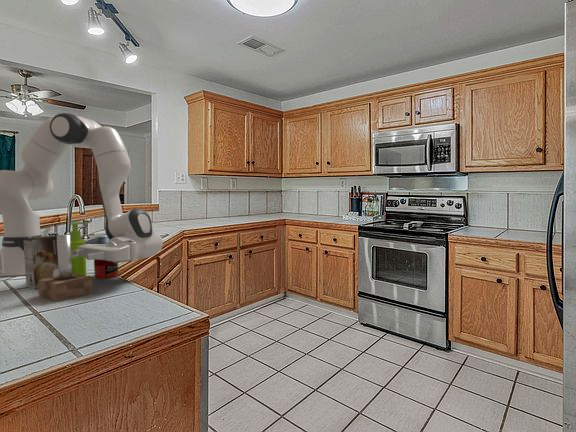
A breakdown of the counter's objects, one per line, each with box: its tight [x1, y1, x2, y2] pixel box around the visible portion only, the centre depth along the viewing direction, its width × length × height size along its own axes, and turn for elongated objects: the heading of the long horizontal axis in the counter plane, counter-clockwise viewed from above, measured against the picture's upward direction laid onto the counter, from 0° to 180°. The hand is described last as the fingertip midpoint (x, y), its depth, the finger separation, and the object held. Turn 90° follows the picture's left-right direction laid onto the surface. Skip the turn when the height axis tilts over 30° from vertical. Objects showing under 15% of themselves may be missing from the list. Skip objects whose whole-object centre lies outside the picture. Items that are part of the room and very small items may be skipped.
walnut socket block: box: [38, 273, 93, 302], centre depth 103 cm, size 10×10×5 cm
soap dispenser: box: [69, 221, 88, 276], centre depth 126 cm, size 6×7×20 cm
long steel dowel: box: [56, 234, 72, 281], centre depth 103 cm, size 3×3×18 cm
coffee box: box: [23, 235, 58, 290], centre depth 114 cm, size 9×6×16 cm
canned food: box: [93, 259, 119, 280], centre depth 126 cm, size 8×8×11 cm
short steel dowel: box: [52, 268, 59, 277], centre depth 113 cm, size 3×3×6 cm
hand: (78, 255), depth 106 cm, fingers open, 8 cm apart
